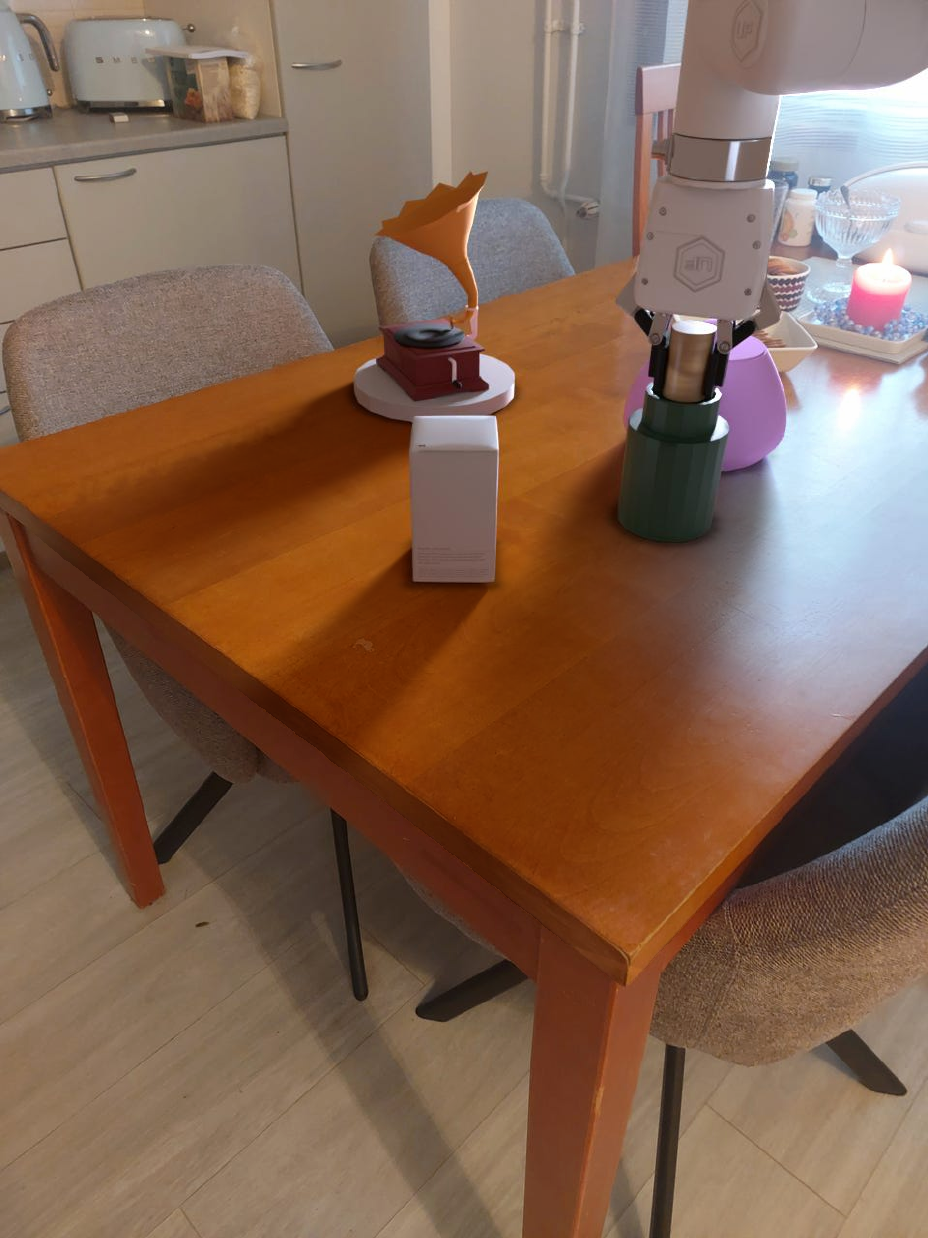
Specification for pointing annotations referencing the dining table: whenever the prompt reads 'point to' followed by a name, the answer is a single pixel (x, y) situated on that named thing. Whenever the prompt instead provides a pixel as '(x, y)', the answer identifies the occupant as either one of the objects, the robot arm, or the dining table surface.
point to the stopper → (688, 360)
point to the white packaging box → (453, 498)
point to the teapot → (739, 403)
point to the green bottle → (672, 467)
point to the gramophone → (436, 325)
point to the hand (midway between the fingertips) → (684, 387)
